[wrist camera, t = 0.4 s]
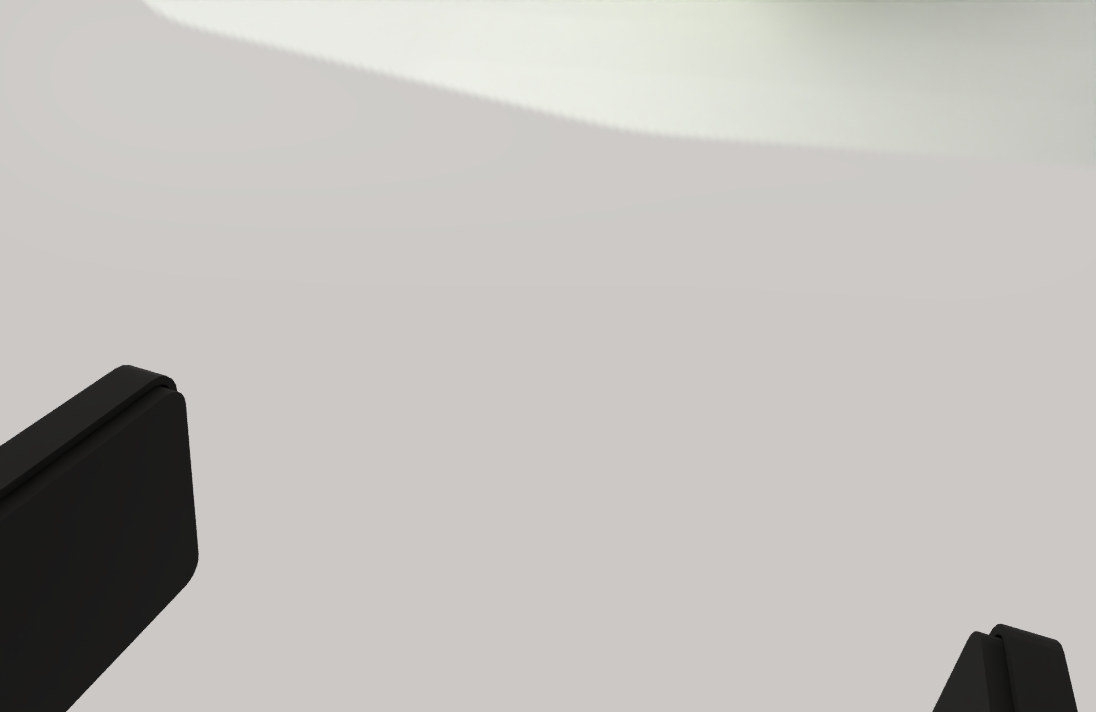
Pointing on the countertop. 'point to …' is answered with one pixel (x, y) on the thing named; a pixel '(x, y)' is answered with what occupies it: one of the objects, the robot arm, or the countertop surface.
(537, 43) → the countertop surface
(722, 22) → the countertop surface
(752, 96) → the countertop surface
